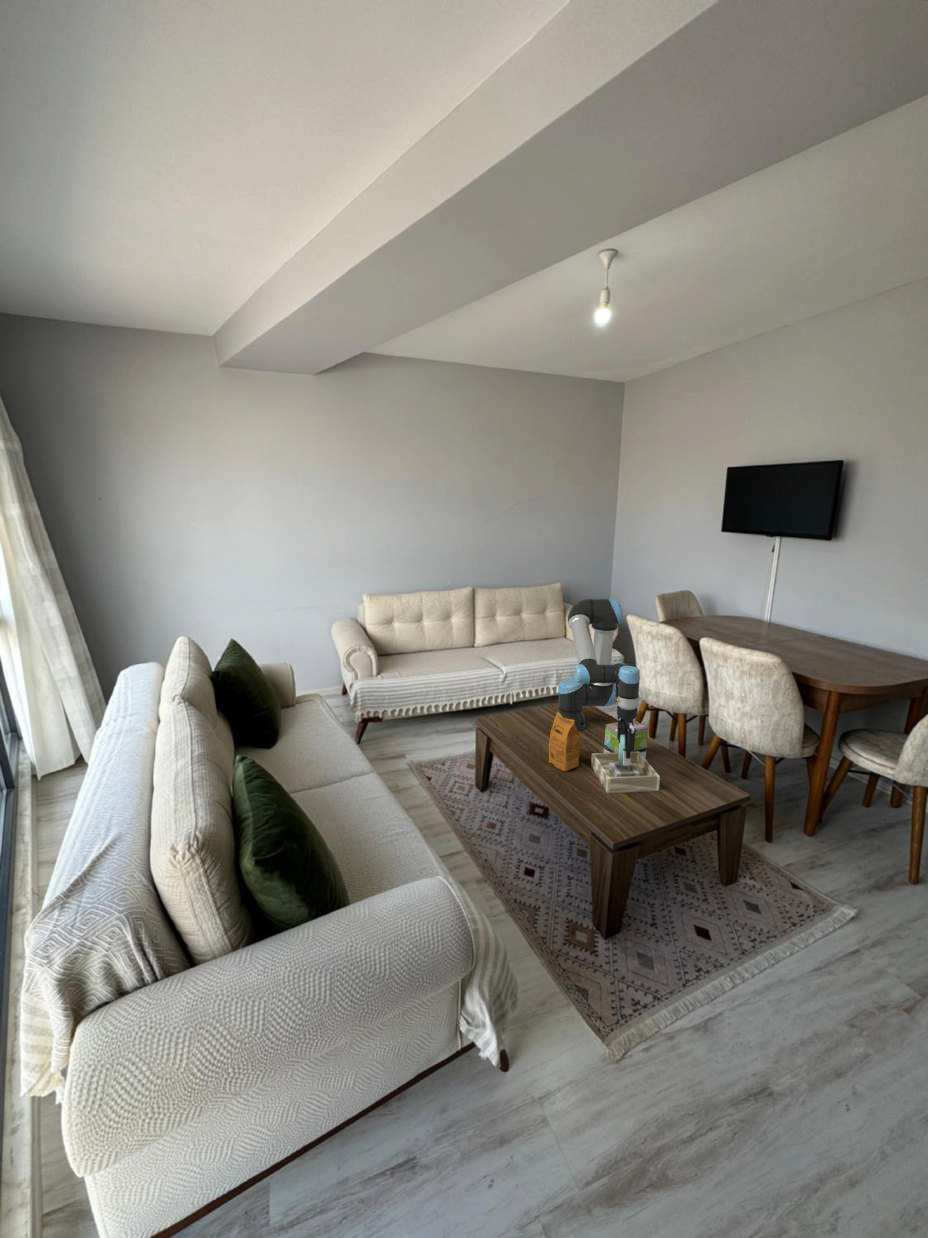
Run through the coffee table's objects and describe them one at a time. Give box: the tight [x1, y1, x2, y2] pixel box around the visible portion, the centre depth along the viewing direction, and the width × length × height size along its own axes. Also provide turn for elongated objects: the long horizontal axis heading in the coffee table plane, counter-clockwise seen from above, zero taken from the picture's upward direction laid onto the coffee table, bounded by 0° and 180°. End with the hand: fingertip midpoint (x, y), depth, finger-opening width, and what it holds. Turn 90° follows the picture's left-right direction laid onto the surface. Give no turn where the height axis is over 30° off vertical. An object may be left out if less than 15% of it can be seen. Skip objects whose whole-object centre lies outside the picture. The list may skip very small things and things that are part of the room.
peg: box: [619, 734, 630, 767], centre depth 198 cm, size 4×4×12 cm
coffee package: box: [548, 711, 581, 772], centre depth 210 cm, size 10×12×22 cm
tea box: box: [603, 719, 649, 759], centre depth 216 cm, size 15×10×15 cm, turn 112°
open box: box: [590, 751, 661, 794], centre depth 200 cm, size 20×20×6 cm
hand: (624, 762), depth 199 cm, fingers closed on peg, 4 cm apart
